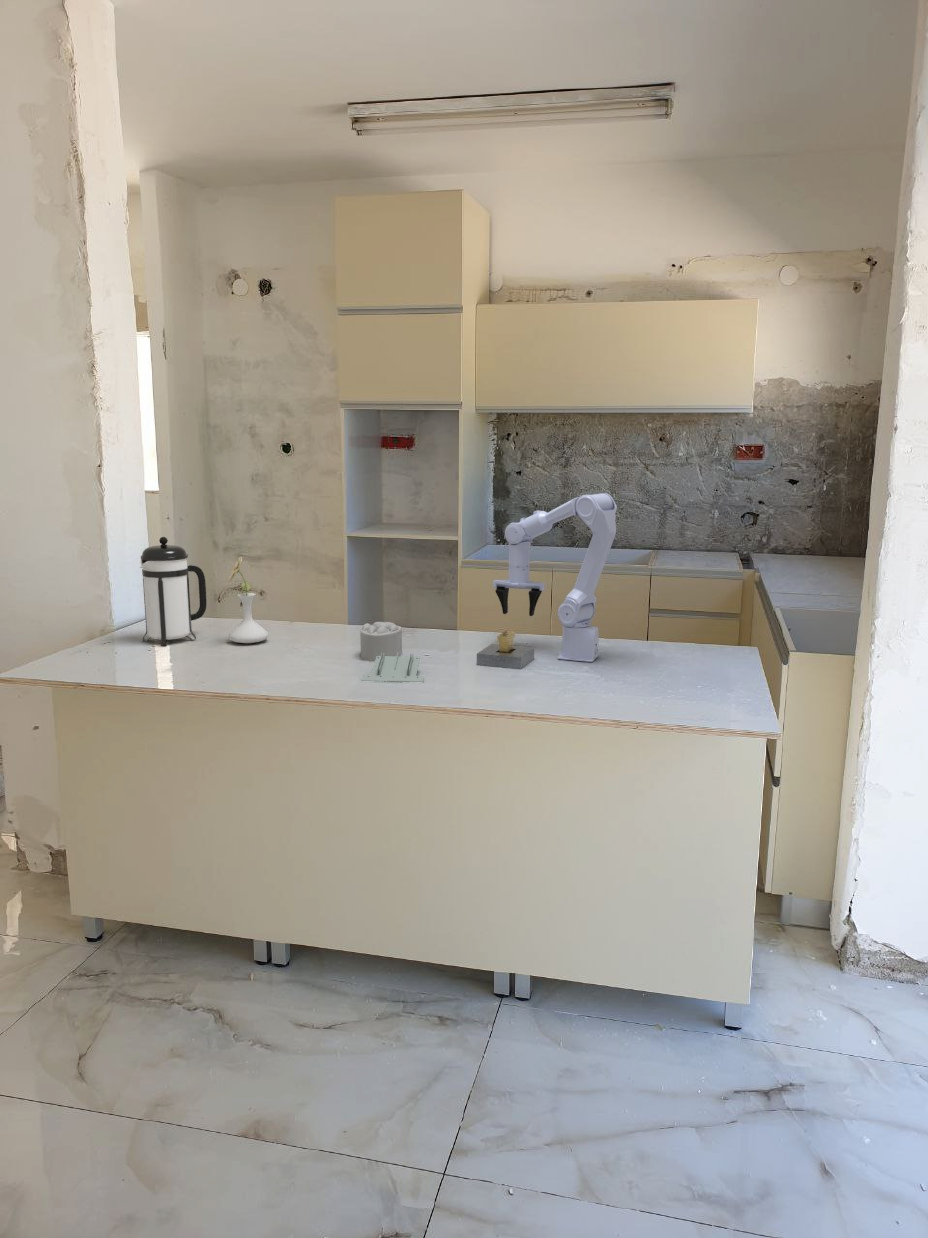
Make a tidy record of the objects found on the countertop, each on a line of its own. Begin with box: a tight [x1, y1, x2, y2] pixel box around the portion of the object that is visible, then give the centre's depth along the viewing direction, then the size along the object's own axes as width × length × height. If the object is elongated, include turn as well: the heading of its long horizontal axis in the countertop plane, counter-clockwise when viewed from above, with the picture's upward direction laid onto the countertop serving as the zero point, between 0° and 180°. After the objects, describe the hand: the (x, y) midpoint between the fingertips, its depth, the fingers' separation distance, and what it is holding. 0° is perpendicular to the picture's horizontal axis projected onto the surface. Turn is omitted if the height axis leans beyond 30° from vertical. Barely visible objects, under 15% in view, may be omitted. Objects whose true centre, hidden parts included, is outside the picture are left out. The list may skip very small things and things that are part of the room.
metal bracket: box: [361, 652, 425, 683], centre depth 229 cm, size 14×6×15 cm
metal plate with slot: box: [476, 643, 535, 670], centre depth 243 cm, size 12×12×3 cm
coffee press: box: [138, 536, 207, 647], centre depth 265 cm, size 17×16×30 cm
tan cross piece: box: [496, 630, 516, 653], centre depth 243 cm, size 2×7×8 cm, turn 159°
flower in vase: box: [227, 556, 269, 644], centre depth 263 cm, size 13×11×25 cm
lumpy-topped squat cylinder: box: [359, 621, 403, 662], centre depth 249 cm, size 10×13×9 cm
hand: (518, 614), depth 258 cm, fingers open, 7 cm apart
